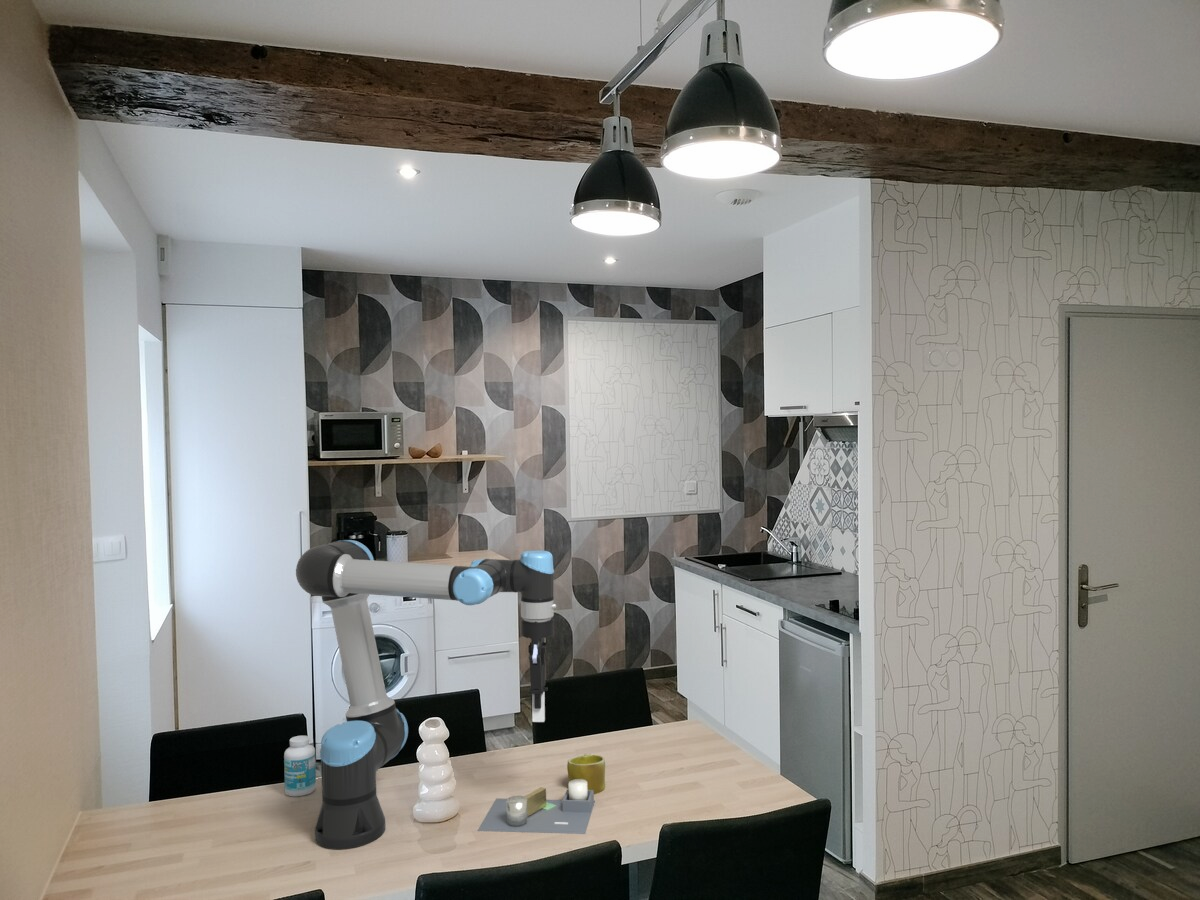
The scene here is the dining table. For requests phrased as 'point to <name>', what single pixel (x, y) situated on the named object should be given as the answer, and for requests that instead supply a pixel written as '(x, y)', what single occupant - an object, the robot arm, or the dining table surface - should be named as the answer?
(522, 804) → the grey and tan piece
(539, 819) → the board
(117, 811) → the dining table surface
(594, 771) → the mug
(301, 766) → the pill bottle
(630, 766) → the dining table surface
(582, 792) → the button
